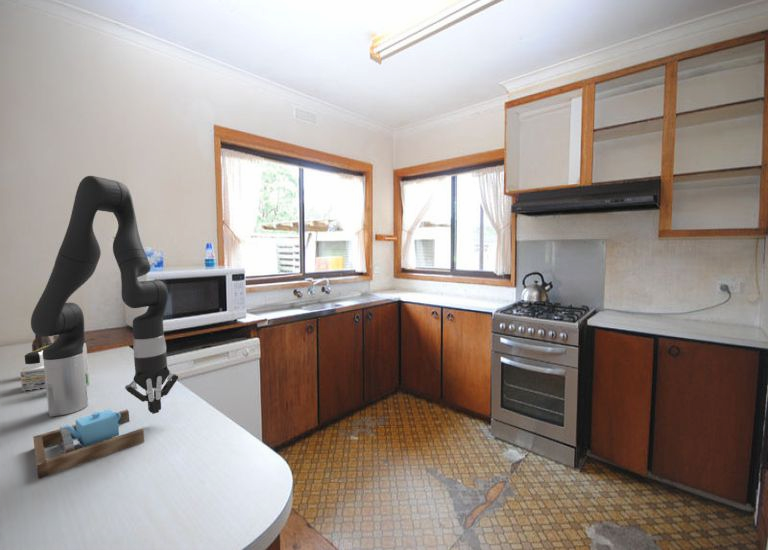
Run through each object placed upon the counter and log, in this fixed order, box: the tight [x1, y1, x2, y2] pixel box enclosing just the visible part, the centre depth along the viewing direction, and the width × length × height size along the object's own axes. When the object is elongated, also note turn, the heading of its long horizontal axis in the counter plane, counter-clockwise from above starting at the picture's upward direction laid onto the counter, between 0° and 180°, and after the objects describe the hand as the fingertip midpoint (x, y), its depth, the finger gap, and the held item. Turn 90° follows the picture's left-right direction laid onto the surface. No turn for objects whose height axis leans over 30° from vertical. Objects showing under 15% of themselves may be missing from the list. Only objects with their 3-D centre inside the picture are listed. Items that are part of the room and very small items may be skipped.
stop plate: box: [59, 424, 75, 454], centre depth 87 cm, size 2×13×4 cm, turn 46°
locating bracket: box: [32, 409, 145, 480], centre depth 90 cm, size 20×18×3 cm
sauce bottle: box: [31, 333, 53, 352], centre depth 145 cm, size 7×6×20 cm
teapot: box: [60, 408, 121, 448], centre depth 91 cm, size 12×6×8 cm, turn 143°
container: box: [19, 350, 46, 392], centre depth 132 cm, size 8×8×13 cm
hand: (154, 412), depth 101 cm, fingers closed
